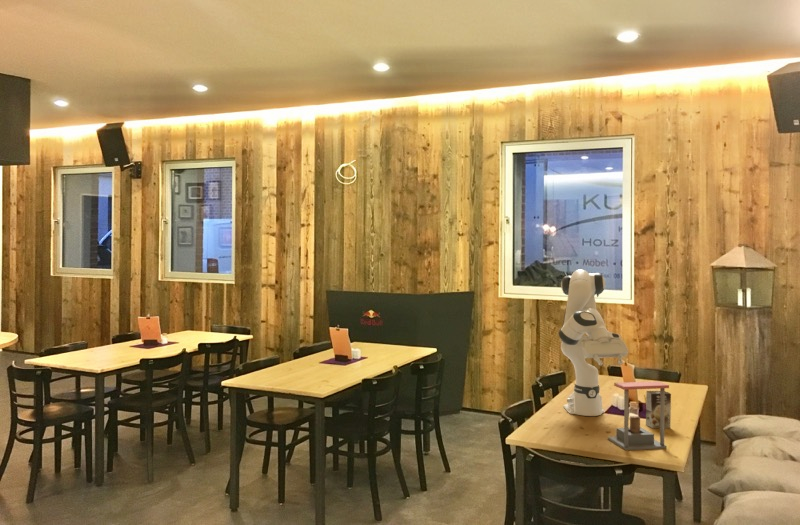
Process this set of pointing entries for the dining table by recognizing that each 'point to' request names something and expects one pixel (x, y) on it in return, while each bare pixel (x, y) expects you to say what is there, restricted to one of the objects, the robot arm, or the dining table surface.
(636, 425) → the walnut peg
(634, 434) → the socket stand
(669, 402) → the coffee box
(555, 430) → the dining table surface
